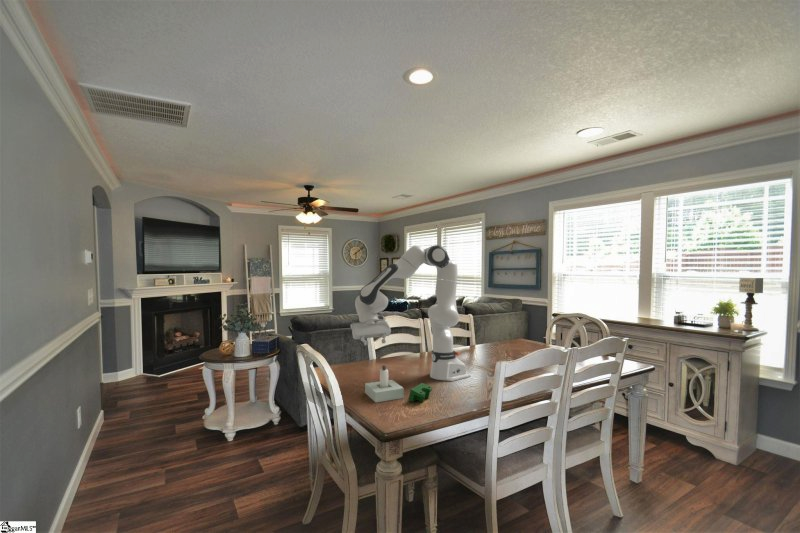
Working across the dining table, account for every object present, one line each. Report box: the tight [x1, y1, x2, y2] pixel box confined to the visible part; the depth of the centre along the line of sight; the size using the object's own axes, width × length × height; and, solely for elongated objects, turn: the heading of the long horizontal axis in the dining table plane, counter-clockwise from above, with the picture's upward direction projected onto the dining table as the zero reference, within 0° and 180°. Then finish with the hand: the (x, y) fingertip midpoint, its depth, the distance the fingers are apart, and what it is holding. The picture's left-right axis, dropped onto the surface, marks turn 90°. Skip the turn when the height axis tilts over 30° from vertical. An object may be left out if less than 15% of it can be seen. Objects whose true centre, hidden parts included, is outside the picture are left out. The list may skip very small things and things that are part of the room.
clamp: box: [408, 382, 433, 403], centre depth 173 cm, size 12×6×9 cm, turn 144°
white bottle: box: [379, 364, 389, 389], centre depth 178 cm, size 4×4×14 cm
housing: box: [364, 379, 405, 404], centre depth 178 cm, size 14×14×4 cm
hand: (375, 343), depth 190 cm, fingers open, 8 cm apart
